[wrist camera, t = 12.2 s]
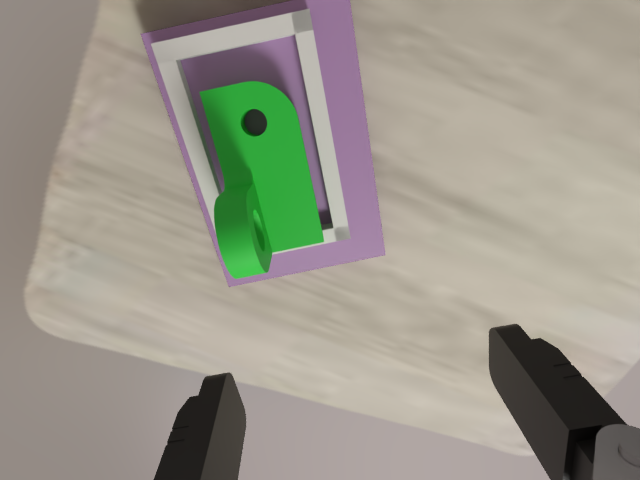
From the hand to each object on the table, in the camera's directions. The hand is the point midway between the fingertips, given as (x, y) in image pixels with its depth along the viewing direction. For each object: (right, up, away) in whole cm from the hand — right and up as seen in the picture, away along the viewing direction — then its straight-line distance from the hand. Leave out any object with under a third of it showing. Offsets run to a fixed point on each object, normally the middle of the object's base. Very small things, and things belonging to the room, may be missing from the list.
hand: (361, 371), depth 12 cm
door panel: (-5, +11, +19) cm, 22 cm away
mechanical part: (-5, +10, +17) cm, 20 cm away
